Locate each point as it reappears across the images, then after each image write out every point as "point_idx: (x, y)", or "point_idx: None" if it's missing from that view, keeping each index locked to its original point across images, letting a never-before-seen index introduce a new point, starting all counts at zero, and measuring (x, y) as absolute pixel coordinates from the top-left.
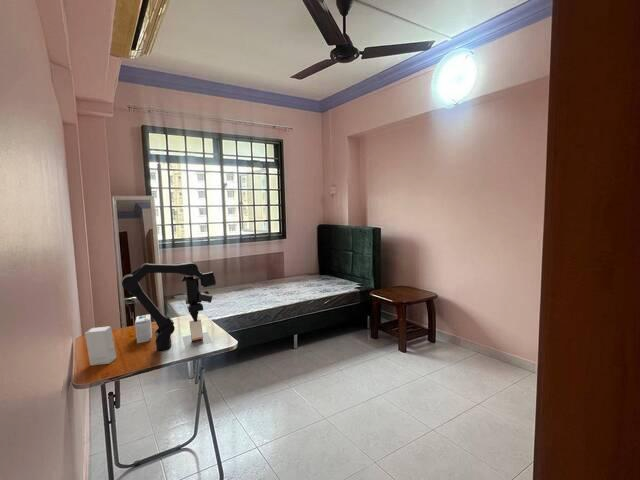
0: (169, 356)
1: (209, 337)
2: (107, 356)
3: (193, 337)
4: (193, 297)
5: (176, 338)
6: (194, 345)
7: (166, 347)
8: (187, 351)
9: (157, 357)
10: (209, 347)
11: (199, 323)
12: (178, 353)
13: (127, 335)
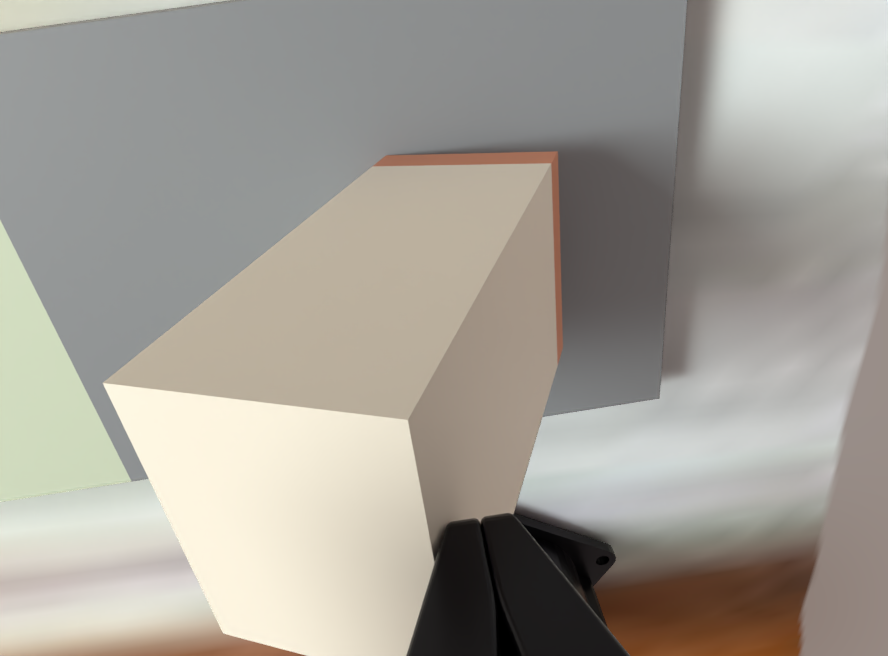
0: (701, 509)
1: (351, 4)
2: None
3: (553, 350)
4: None
5: (84, 525)
6: (635, 282)
7: (586, 601)
8: (685, 347)
9: (647, 597)
10: (754, 14)
11: (465, 380)
12: (677, 438)
13: None
